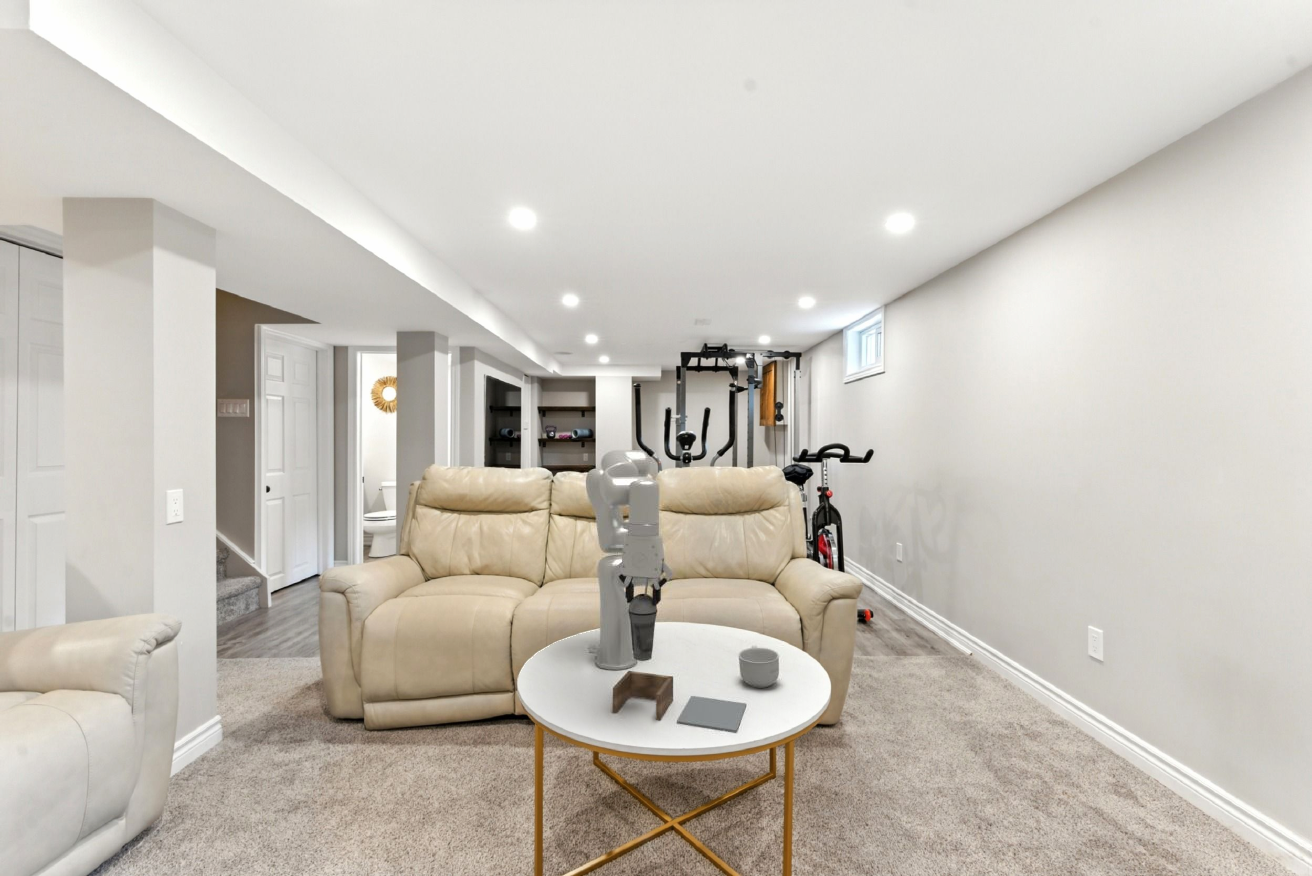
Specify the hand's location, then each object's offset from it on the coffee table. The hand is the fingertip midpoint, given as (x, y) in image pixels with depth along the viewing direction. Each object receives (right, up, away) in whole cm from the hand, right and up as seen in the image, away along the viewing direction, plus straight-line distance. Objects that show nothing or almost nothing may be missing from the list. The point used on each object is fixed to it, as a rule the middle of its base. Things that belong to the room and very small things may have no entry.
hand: (643, 602), depth 140 cm
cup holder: (0, -26, -1) cm, 26 cm away
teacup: (+31, -26, +16) cm, 44 cm away
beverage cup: (0, -14, 0) cm, 14 cm away
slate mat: (+17, -26, -4) cm, 31 cm away
